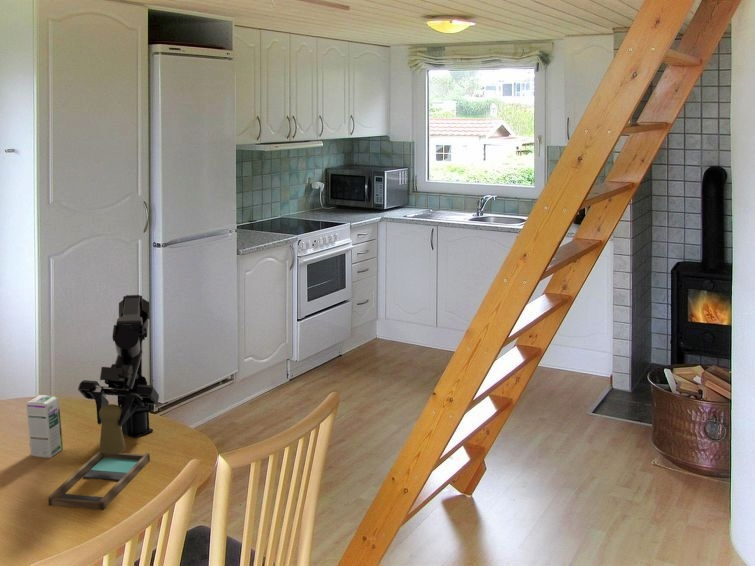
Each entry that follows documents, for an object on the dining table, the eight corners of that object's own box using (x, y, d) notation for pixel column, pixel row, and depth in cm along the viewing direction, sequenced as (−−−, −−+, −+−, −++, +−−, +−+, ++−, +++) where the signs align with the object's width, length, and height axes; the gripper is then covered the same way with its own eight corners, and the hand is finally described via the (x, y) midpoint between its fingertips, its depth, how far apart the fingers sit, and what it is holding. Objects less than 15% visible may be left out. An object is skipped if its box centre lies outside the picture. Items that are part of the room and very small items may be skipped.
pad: (104, 458, 225) (103, 457, 225) (143, 462, 224) (143, 460, 224) (90, 471, 218) (90, 469, 218) (131, 474, 217) (131, 473, 217)
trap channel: (101, 456, 226) (100, 449, 226) (149, 460, 225) (149, 453, 224) (48, 505, 201) (48, 496, 200) (102, 509, 199) (102, 501, 199)
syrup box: (51, 458, 225) (47, 403, 222) (29, 456, 226) (25, 401, 223) (63, 449, 231) (59, 395, 227) (42, 447, 232) (38, 393, 228)
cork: (114, 441, 222) (111, 399, 220) (130, 447, 219) (128, 405, 216) (94, 449, 218) (91, 407, 215) (110, 456, 214) (108, 413, 212)
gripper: (79, 348, 218) (59, 408, 210) (152, 354, 215) (135, 415, 208) (95, 368, 228) (77, 426, 220) (166, 374, 225) (150, 432, 217)
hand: (109, 424), depth 216 cm, fingers closed on cork, 5 cm apart
